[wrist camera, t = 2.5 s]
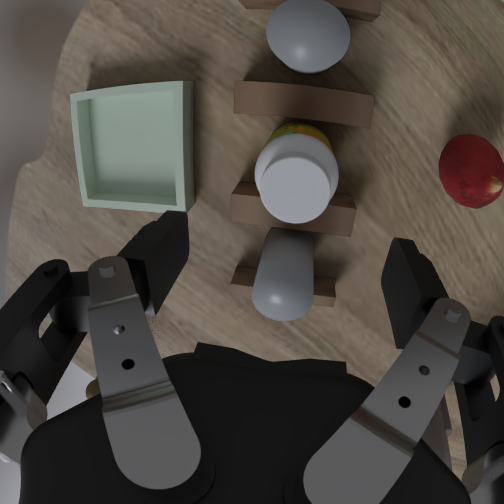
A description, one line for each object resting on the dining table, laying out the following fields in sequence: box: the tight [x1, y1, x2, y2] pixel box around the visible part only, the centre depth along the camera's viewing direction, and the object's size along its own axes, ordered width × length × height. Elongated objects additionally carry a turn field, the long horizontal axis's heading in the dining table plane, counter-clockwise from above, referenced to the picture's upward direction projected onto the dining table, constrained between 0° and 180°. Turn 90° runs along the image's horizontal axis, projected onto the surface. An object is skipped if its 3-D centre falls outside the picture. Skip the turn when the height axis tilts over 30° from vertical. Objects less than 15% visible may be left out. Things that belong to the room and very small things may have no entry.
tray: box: [70, 80, 195, 213], centre depth 25 cm, size 12×12×2 cm
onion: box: [439, 134, 504, 209], centre depth 19 cm, size 6×6×8 cm
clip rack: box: [230, 0, 381, 307], centre depth 24 cm, size 10×27×3 cm, turn 178°
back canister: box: [252, 227, 313, 321], centre depth 26 cm, size 5×5×8 cm
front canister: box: [266, 0, 350, 74], centre depth 17 cm, size 5×5×8 cm
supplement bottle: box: [255, 122, 339, 223], centre depth 21 cm, size 5×5×10 cm
